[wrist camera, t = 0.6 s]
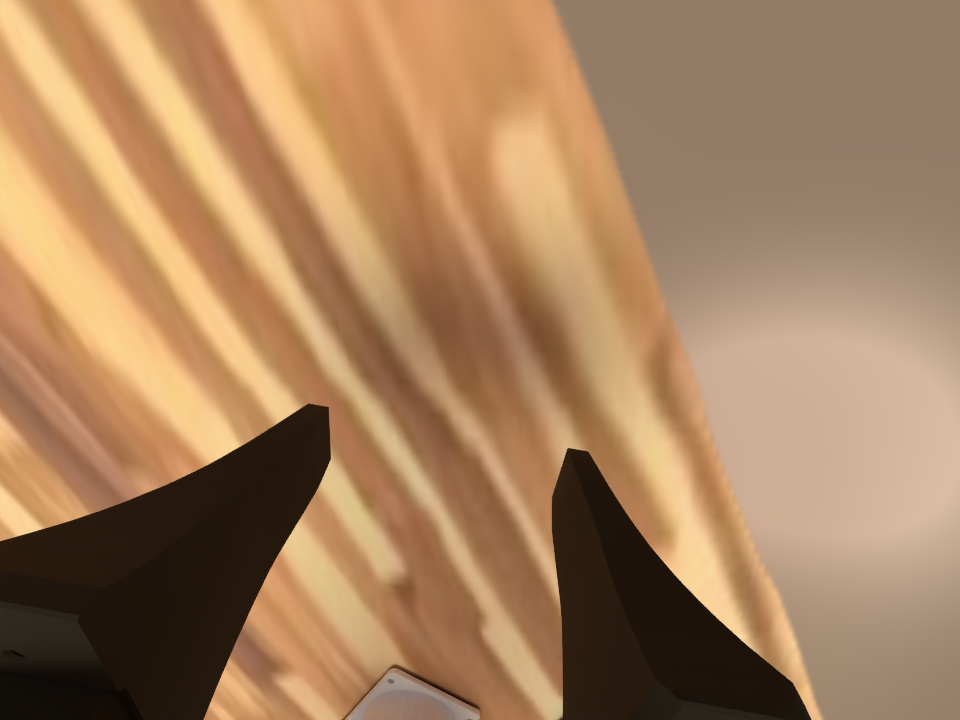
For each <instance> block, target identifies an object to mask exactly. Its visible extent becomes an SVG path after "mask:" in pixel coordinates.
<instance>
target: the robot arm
mask: <svg viewBox="0 0 960 720" xmlns="http://www.w3.org/2000/svg"><path fill="white" fill-rule="evenodd" d="M330 460H331V451H330V428H329V407H325V406H319V405H313V404H307V405H306V406H304V407H302V408H301V409H299V410H298V411H296V412H295V413H293V414H292V415H290V416H289V417H287V418H286V419H284V420H283V421H281V422H279V423H278V424H276V425H275V426H273V427H272V428H270V429H268V430H267V431H265V432H264V433H262V434H261V435H259V436H257V437H256V438H254V439H253V440H251V441H249V442H248V443H246V444H244V445H242V446H241V447H239V448H237V449H235V450H234V451H232V452H230V453H228V454H227V455H225V456H223V457H221V458H220V459H218V460H216V461H214V462H213V463H211V464H209V465H207V466H205V467H203V468H201V469H199V470H197V471H195V472H193V473H191V474H189V475H187V476H185V477H182V478H180V479H178V480H176V481H174V482H172V483H169V484H167V485H165V486H162V487H160V488H158V489H155V490H153V491H150V492H148V493H145V494H143V495H141V496H138V497H136V498H133V499H131V500H129V501H126V502H123V503H121V504H118V505H115V506H112V507H110V508H107V509H104V510H101V511H99V512H96V513H93V514H90V515H87V516H84V517H81V518H78V519H75V520H72V521H69V522H65V523H62V524H59V525H56V526H52V527H49V528H45V529H42V530H38V531H35V532H32V533H28V534H25V535H21V536H18V537H14V538H11V539H7V540H3V541H0V720H203V719H204V717H205V714H206V712H207V709H208V707H209V705H210V702H211V700H212V697H213V695H214V692H215V690H216V687H217V685H218V682H219V680H220V678H221V675H222V673H223V671H224V668H225V666H226V664H227V661H228V659H229V657H230V654H231V652H232V650H233V647H234V645H235V643H236V641H237V638H238V636H239V634H240V632H241V630H242V627H243V625H244V623H245V621H246V619H247V616H248V614H249V612H250V610H251V608H252V605H253V603H254V601H255V599H256V597H257V595H258V593H259V591H260V589H261V587H262V585H263V583H264V580H265V578H266V576H267V574H268V572H269V570H270V568H271V567H272V565H273V563H274V561H275V559H276V557H277V556H278V554H279V552H280V551H281V549H282V547H283V546H284V544H285V542H286V541H287V539H288V537H289V536H290V534H291V533H292V531H293V529H294V528H295V526H296V524H297V523H298V521H299V519H300V518H301V516H302V514H303V513H304V511H305V509H306V508H307V506H308V504H309V503H310V501H311V499H312V498H313V496H314V494H315V493H316V491H317V489H318V487H319V485H320V483H321V480H322V478H323V476H324V474H325V471H326V469H327V467H328V464H329V462H330ZM552 534H553V543H554V552H555V561H556V570H557V578H558V587H559V595H560V604H561V616H562V647H563V720H811V718H810V716H809V714H808V711H807V709H806V707H805V705H804V703H803V701H802V699H801V698H800V696H799V694H798V692H797V690H796V688H795V686H794V685H793V683H792V682H791V681H790V680H788V679H787V678H786V677H785V676H784V675H782V674H781V673H780V672H779V671H777V670H776V669H775V668H774V667H773V666H771V665H770V664H769V663H768V662H767V661H765V660H764V659H763V658H762V657H760V656H759V655H758V654H757V653H756V652H754V651H753V650H752V649H751V648H749V647H748V646H747V645H746V644H745V643H744V642H743V641H741V640H740V639H739V638H738V637H737V636H736V635H735V634H734V633H733V632H732V631H730V630H729V629H728V628H727V627H726V626H725V625H724V624H723V623H722V622H721V621H719V620H718V619H717V618H716V617H715V616H714V615H713V614H712V613H711V612H710V611H709V610H708V609H707V608H706V607H705V606H704V605H703V604H702V603H701V602H700V601H699V600H698V599H697V598H696V597H695V596H694V595H693V594H692V593H691V592H690V591H689V590H688V589H687V588H686V587H685V586H684V585H683V584H682V582H681V581H680V580H679V579H678V578H677V577H676V576H675V575H674V574H673V573H672V571H671V570H670V569H669V568H668V567H667V566H666V564H665V563H664V562H663V561H662V560H661V559H660V557H659V556H658V555H657V554H656V553H655V552H654V550H653V549H652V548H651V547H650V545H649V544H648V543H647V541H646V540H645V539H644V537H643V536H642V535H641V533H640V532H639V531H638V529H637V528H636V527H635V525H634V524H633V522H632V521H631V519H630V518H629V517H628V515H627V514H626V512H625V511H624V509H623V507H622V506H621V504H620V503H619V501H618V500H617V498H616V497H615V495H614V494H613V492H612V490H611V489H610V487H609V486H608V484H607V482H606V481H605V479H604V477H603V476H602V474H601V472H600V470H599V469H598V467H597V465H596V464H595V462H594V460H593V458H592V457H591V455H590V454H589V452H588V451H582V450H576V449H570V448H568V449H567V452H566V455H565V458H564V461H563V464H562V468H561V471H560V474H559V477H558V480H557V483H556V487H555V490H554V493H553V496H552ZM479 719H480V711H479V710H478V709H476V708H474V707H472V706H470V705H468V704H466V703H464V702H462V701H460V700H458V699H456V698H454V697H452V696H450V695H448V694H446V693H444V692H443V691H441V690H439V689H437V688H435V687H433V686H431V685H429V684H427V683H425V682H423V681H421V680H419V679H417V678H415V677H413V676H411V675H409V674H407V673H405V672H403V671H401V670H399V669H397V668H392V669H390V670H389V671H388V672H387V673H386V674H385V675H384V677H383V678H382V679H381V680H380V681H379V682H378V683H377V684H376V685H375V687H374V688H373V689H372V690H371V691H370V692H369V693H368V694H367V695H366V696H365V698H364V699H363V700H362V701H361V702H360V703H359V704H358V705H357V706H356V707H355V709H354V710H353V711H352V712H351V713H350V714H349V715H348V716H347V717H346V718H345V720H479Z"/></svg>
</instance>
